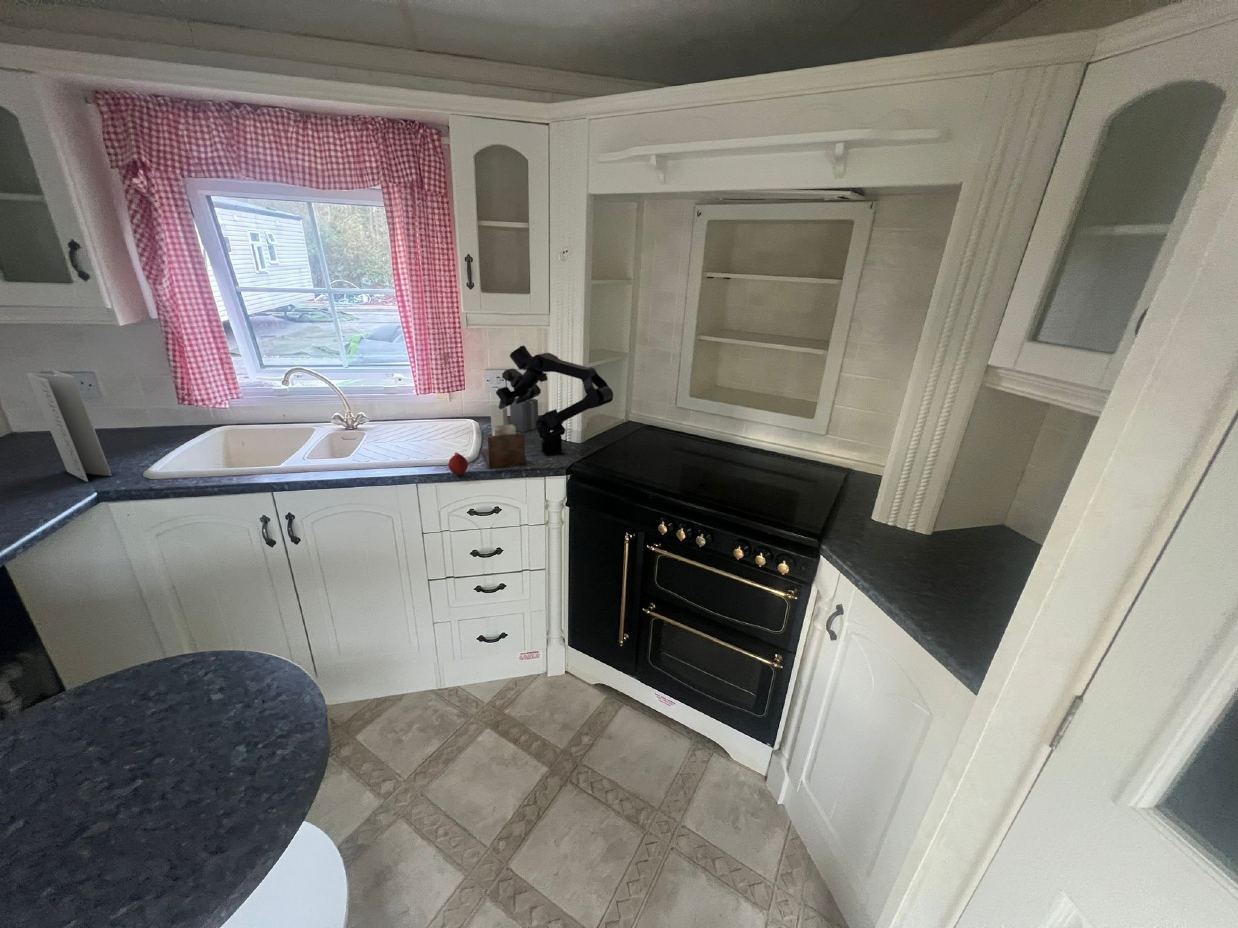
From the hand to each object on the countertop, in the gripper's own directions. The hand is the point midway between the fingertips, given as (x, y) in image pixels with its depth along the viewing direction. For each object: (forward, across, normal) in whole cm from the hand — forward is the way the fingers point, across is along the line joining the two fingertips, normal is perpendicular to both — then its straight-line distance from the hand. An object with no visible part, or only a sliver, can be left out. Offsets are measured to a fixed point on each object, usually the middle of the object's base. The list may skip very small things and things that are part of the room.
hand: (508, 405), depth 185 cm
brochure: (+65, +97, -49) cm, 127 cm away
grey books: (+14, -16, +5) cm, 22 cm away
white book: (+15, -2, +4) cm, 16 cm away
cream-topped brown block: (+3, +15, +17) cm, 23 cm away
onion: (+4, +34, +17) cm, 38 cm away
